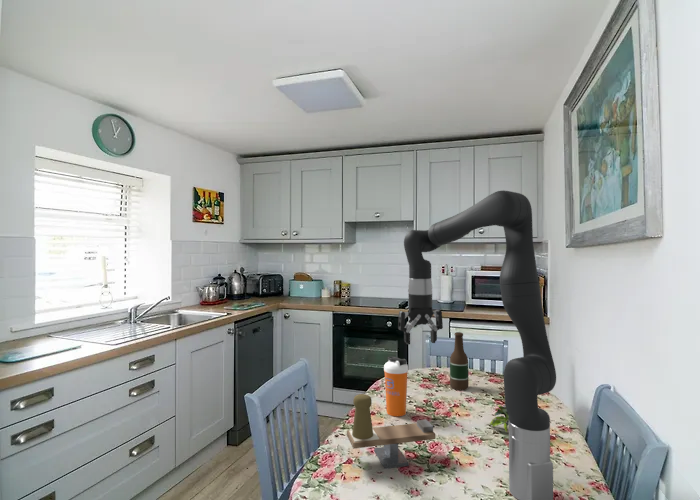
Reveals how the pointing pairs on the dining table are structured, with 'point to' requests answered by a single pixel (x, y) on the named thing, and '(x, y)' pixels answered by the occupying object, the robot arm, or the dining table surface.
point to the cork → (362, 417)
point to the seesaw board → (395, 434)
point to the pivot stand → (391, 456)
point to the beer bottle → (459, 365)
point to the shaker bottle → (396, 386)
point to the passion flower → (501, 417)
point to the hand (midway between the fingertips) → (420, 343)
